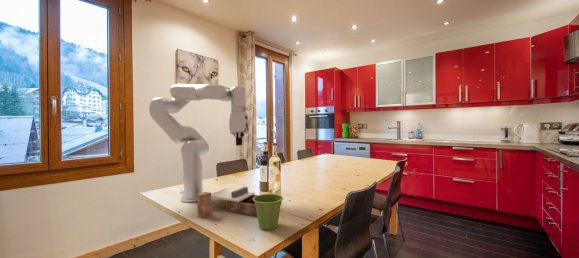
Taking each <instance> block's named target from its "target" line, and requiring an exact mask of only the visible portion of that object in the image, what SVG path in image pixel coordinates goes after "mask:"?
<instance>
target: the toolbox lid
mask: <svg viewBox="0 0 579 258" xmlns="http://www.w3.org/2000/svg"><path fill="white" fill-rule="evenodd" d="M252 195H256V194H255V191H250V190H249V187H248V186H243V187H241V188H239V189H233V188H223V189H220V190H218V191H216V192H213V193H212V192H211V199H216V200H223V201H226V200H228V201H235V202H240V201H242V200H244V199H246V198H248V197H250V196H252Z"/></svg>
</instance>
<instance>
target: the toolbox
mask: <svg viewBox="0 0 579 258" xmlns="http://www.w3.org/2000/svg"><path fill="white" fill-rule="evenodd" d="M258 195H259V194H258ZM258 195H257V194H254V195H252V196H250V197H248V198H246V199H244V200H242V201H240V202H235V201H228V200H225V212H227V213H233V214H238V215H243V216H249V217H254V218H258V217H257V211H256V206H255V202H254V201H253V198H254V197H255V196H258Z"/></svg>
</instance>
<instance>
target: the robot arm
mask: <svg viewBox="0 0 579 258" xmlns="http://www.w3.org/2000/svg"><path fill="white" fill-rule="evenodd" d="M169 93H170V96H171V97H172V98H169V97H164V96H163V97H161V96H160V97H154V98H153V99H151V101H150V103H149V106H148V109H149V115H150V117H151V118H152V120H153V121H154V123H156V125H158V126H159V128H161V129H162V131H163V132H165V134H166V135H167V136H168V137H169V138H170V139H171V140H172V141H173V143H175V144H178V145H179V144H182V145H181V148H180V154H181V158H182V167H183V168H182V170H183V173H182V174H183V176H182V177H183V189H182V190H181V191H179V194H182V196H181V197H180V201H181V202H183V203H193V202H194V203H195V202H198V200H197V194H199V193H202V192H204V190H203V163H202V159H201V157H202V156H205V155H207V154H208V152H209V150H210V146H209V143H208V142H207V140H206V139H205V138H204V137H203V136H202V135H201V134H200V133H199V131H197V130H196V129H195V128H194V127H192V126H187V125H182V124H181V123H180V122H179V121H178V120H177V119H176V118H175V116H172V115H173V114H177V113H179V112H180V111H181V110H183V109H184V108H185V107H186V106H187V105H188V104H189V103H190V102H191V101H198V102H199V101H203V100H216V101H221V102H230V108H231V109H230V114H229V115H230V116H229V122H228V124H229V125H228V127H229V128H228V130H229V133H230V134H231V135H233V136H234V138H235V146H237V147H239V146H243V139H244V136H245V135H248V134H249V131H250V121H249V120H250V119H249V114H248V112H247V110H248V107H246V106H247V103H246V101H247V100H246V99H247V97H246V94H247V93H246V88H245V87H244V86H241V85H240V86H239V85H237V86H236V85H235V86H232V87H227V86H225V85H222V84H211V83H210V84H209V83H202V84H191V83H187V84H186V83H176V84H173V85H172V86H171V87H170V88H169ZM171 114H172V115H171Z"/></svg>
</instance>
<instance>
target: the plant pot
mask: <svg viewBox="0 0 579 258" xmlns="http://www.w3.org/2000/svg"><path fill="white" fill-rule="evenodd" d="M283 200H284V196H282V195H281V194H276V193H262V194H258V196H255V197H254V198H253V201H254V202H255V206H256V211H257V217H256V218H257V222H258V227H259V228H260V229H261V230H266V231H271V230H275V229H276V228H277V227H278V225H279V218H280V213H281V212H280V211H281V206H282V203H283Z"/></svg>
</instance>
